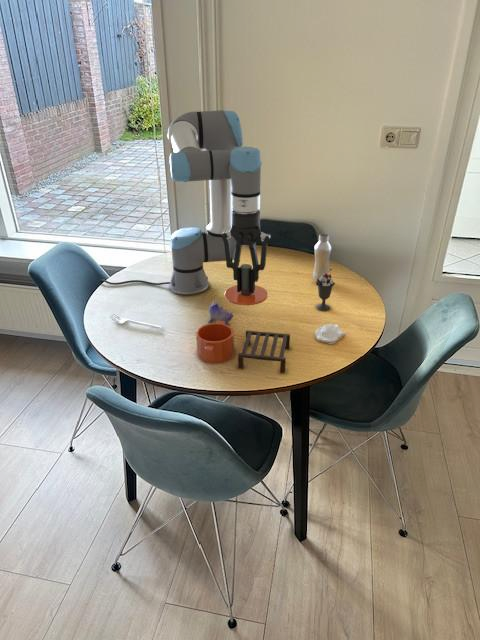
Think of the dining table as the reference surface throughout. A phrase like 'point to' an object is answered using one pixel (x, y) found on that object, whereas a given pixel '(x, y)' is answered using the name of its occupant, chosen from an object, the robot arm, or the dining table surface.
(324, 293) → the sundae
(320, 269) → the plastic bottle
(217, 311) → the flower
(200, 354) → the pot
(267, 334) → the rack
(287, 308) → the dining table surface
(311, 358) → the dining table surface
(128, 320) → the cooking utensil
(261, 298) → the lid
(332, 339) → the rose
